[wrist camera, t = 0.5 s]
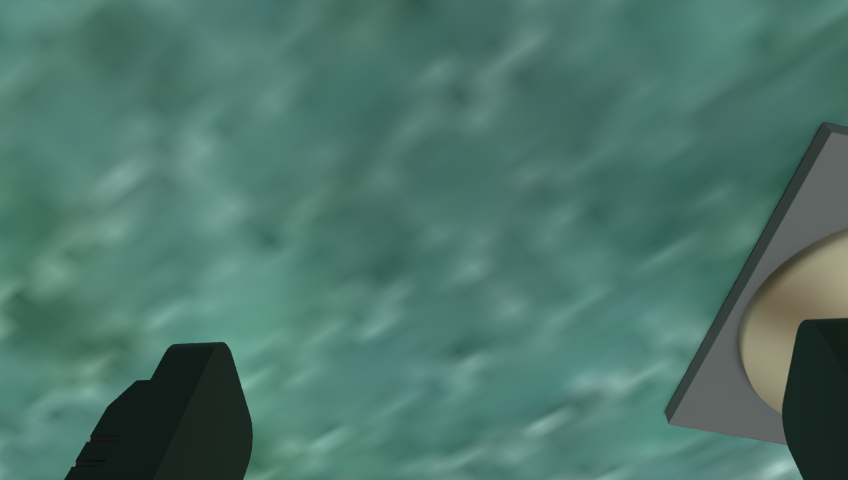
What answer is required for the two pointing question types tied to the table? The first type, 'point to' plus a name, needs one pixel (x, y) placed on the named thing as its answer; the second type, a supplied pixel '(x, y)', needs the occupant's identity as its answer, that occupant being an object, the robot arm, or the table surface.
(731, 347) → the mat
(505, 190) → the table surface
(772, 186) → the table surface
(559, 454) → the table surface
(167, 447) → the robot arm
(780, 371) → the lid
